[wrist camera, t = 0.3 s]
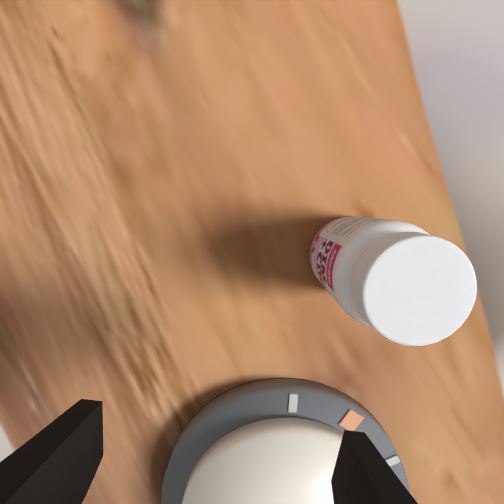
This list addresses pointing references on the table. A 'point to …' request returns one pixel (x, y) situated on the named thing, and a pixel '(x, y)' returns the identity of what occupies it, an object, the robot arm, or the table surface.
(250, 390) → the dial base
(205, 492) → the dial
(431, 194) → the table surface
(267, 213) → the table surface
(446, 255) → the pill bottle
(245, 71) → the table surface
